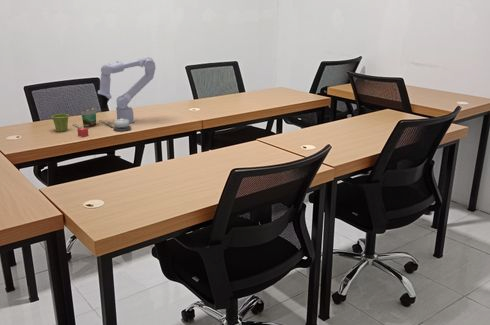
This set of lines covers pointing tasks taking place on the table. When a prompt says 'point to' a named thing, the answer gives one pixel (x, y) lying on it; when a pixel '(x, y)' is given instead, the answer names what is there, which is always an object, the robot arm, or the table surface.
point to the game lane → (99, 121)
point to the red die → (82, 132)
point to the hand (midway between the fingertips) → (103, 107)
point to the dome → (121, 123)
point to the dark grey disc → (122, 129)
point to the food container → (89, 117)
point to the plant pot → (60, 122)
